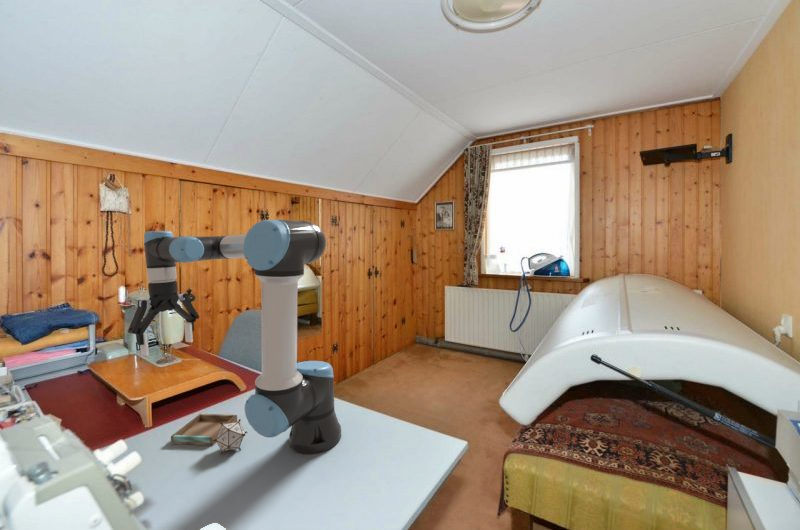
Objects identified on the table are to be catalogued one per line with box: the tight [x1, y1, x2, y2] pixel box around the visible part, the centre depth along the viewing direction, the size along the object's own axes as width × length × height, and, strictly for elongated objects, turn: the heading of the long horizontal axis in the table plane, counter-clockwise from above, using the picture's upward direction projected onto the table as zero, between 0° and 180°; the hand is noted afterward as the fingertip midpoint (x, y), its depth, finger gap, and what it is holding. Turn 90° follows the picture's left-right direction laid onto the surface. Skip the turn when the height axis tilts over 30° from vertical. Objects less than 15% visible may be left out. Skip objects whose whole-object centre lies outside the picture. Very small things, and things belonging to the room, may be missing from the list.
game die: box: [213, 418, 248, 455], centre depth 100 cm, size 9×8×10 cm
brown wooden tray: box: [170, 413, 238, 446], centre depth 109 cm, size 13×13×2 cm
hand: (168, 348), depth 110 cm, fingers open, 13 cm apart
